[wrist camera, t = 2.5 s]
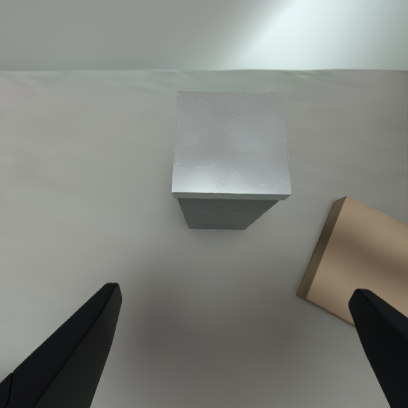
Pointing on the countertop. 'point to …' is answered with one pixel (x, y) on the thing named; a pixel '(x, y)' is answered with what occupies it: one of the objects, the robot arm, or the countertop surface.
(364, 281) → the block
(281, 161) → the tall grey square pillar
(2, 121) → the countertop surface
